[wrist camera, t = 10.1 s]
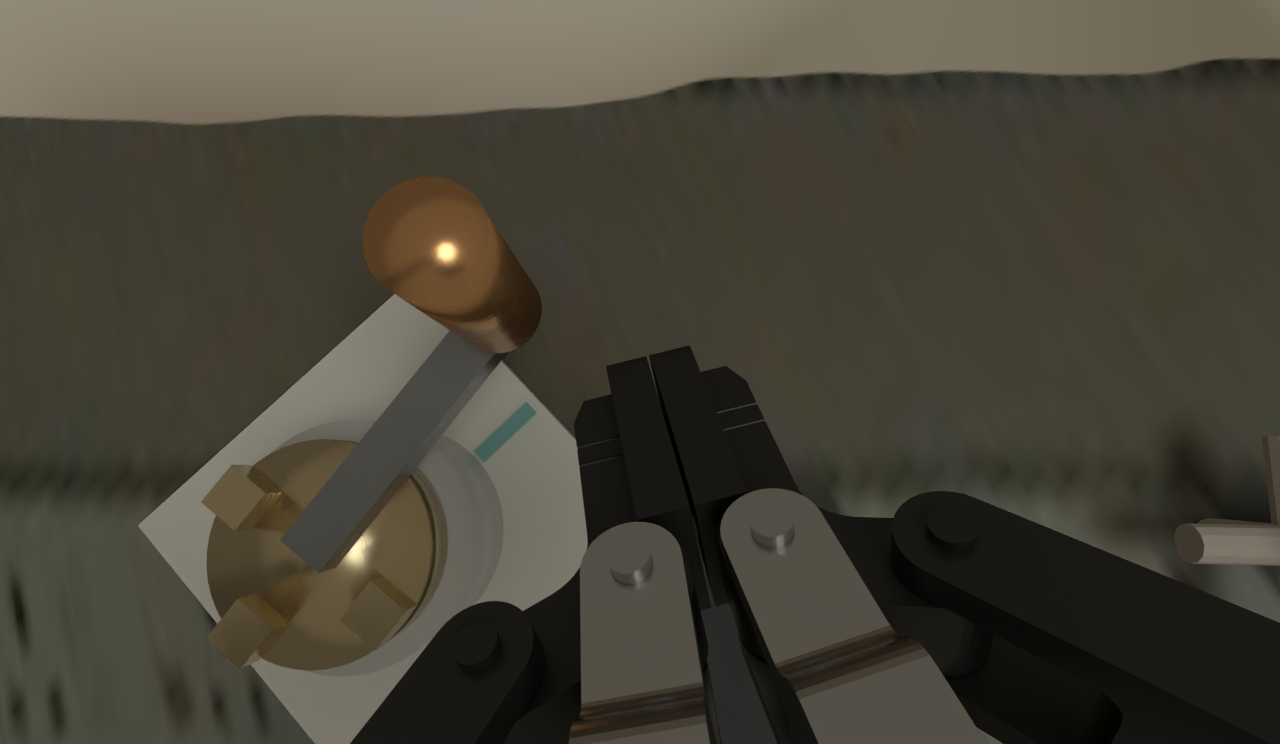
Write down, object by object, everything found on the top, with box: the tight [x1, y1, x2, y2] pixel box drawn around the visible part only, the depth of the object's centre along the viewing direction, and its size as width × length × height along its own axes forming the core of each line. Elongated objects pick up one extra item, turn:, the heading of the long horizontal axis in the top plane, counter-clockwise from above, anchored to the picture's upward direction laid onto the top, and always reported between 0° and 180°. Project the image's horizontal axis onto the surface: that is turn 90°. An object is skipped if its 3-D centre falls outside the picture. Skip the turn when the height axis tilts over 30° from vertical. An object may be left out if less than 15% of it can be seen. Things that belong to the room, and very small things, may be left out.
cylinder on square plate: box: [138, 294, 588, 744], centre depth 33 cm, size 20×20×8 cm
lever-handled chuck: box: [201, 177, 542, 671], centre depth 24 cm, size 18×9×12 cm, turn 143°
